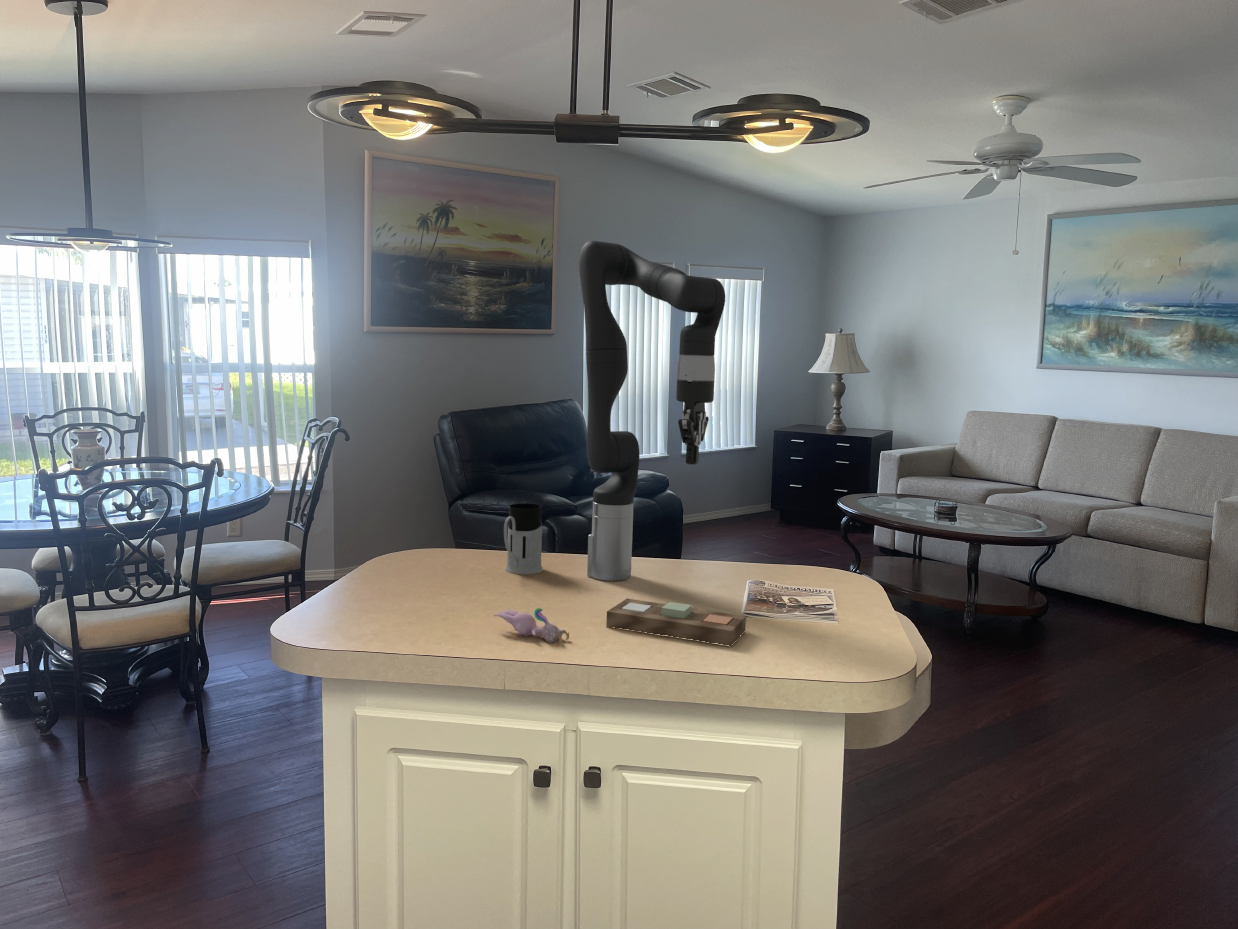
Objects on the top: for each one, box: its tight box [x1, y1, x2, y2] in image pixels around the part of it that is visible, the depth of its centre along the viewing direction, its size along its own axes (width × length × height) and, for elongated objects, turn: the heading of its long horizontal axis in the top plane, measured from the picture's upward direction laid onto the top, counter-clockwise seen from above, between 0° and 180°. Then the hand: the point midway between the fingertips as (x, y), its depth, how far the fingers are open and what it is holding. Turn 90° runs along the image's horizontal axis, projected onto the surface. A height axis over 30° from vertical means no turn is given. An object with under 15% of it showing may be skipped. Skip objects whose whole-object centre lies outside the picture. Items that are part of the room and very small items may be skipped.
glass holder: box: [503, 502, 544, 575], centre depth 205 cm, size 9×14×15 cm, turn 159°
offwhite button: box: [622, 603, 651, 613], centre depth 171 cm, size 4×4×3 cm
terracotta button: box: [703, 614, 733, 625], centre depth 164 cm, size 4×4×3 cm
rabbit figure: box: [493, 607, 570, 645], centre depth 161 cm, size 6×6×15 cm
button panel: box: [605, 598, 747, 647], centre depth 168 cm, size 24×10×3 cm, turn 68°
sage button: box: [661, 601, 693, 619], centre depth 167 cm, size 4×4×3 cm
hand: (691, 463), depth 182 cm, fingers closed
